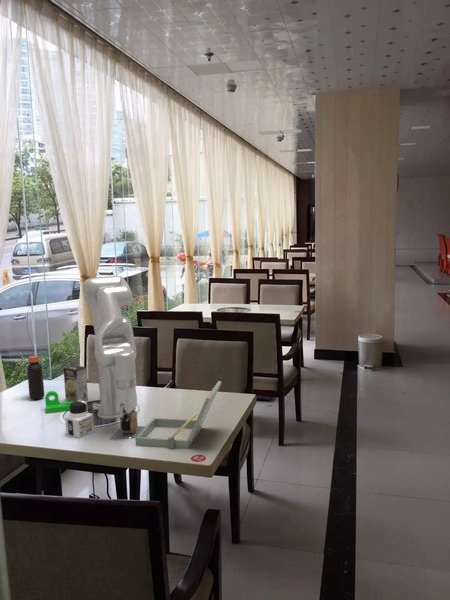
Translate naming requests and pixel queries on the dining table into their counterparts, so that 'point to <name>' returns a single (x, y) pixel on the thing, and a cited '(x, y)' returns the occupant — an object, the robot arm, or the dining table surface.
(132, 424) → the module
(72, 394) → the coffee box
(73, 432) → the container
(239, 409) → the dining table surface
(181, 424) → the case
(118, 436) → the mat
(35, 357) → the bottle
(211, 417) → the dining table surface
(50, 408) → the mechanical part
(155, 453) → the dining table surface
